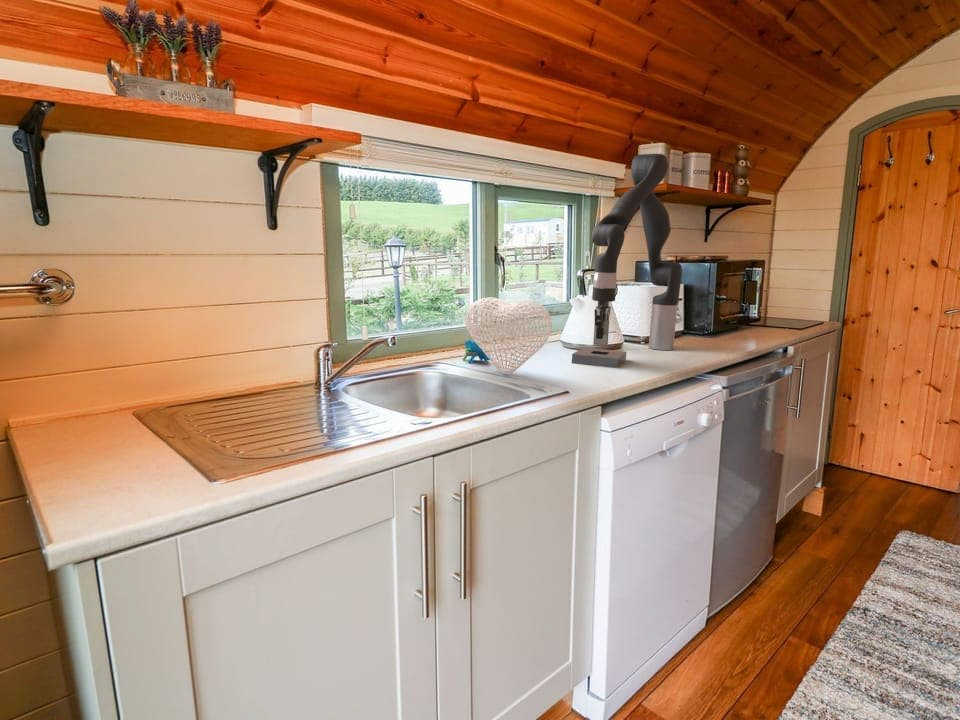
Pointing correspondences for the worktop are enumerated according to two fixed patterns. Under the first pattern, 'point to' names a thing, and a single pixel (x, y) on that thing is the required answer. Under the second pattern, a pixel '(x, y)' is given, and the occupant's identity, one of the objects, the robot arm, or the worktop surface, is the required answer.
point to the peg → (605, 335)
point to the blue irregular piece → (474, 351)
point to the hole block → (599, 357)
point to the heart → (508, 330)
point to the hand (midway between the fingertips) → (600, 337)
